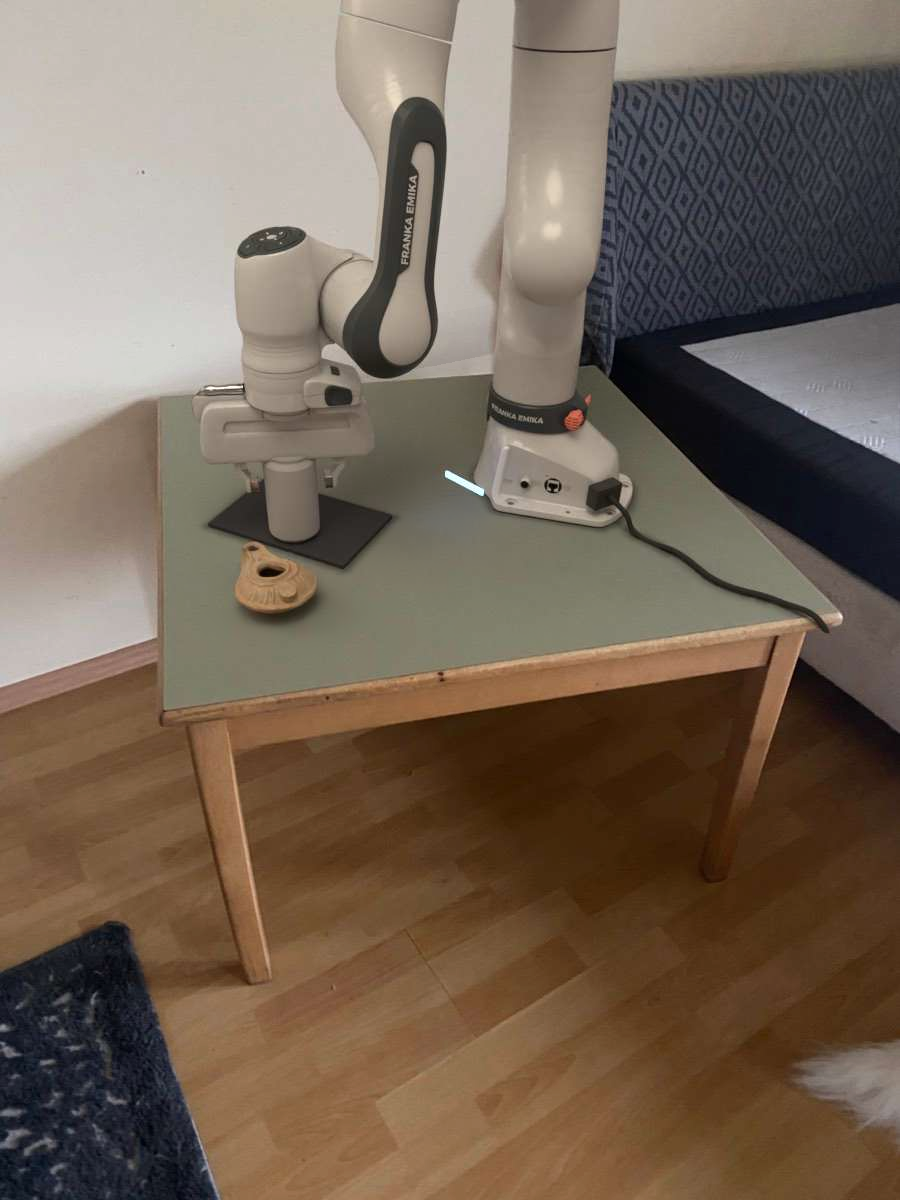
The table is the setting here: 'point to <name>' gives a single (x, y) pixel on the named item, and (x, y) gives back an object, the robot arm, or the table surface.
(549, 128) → the robot arm
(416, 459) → the table surface
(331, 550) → the mat
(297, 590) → the pottery oil lamp
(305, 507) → the beverage can
